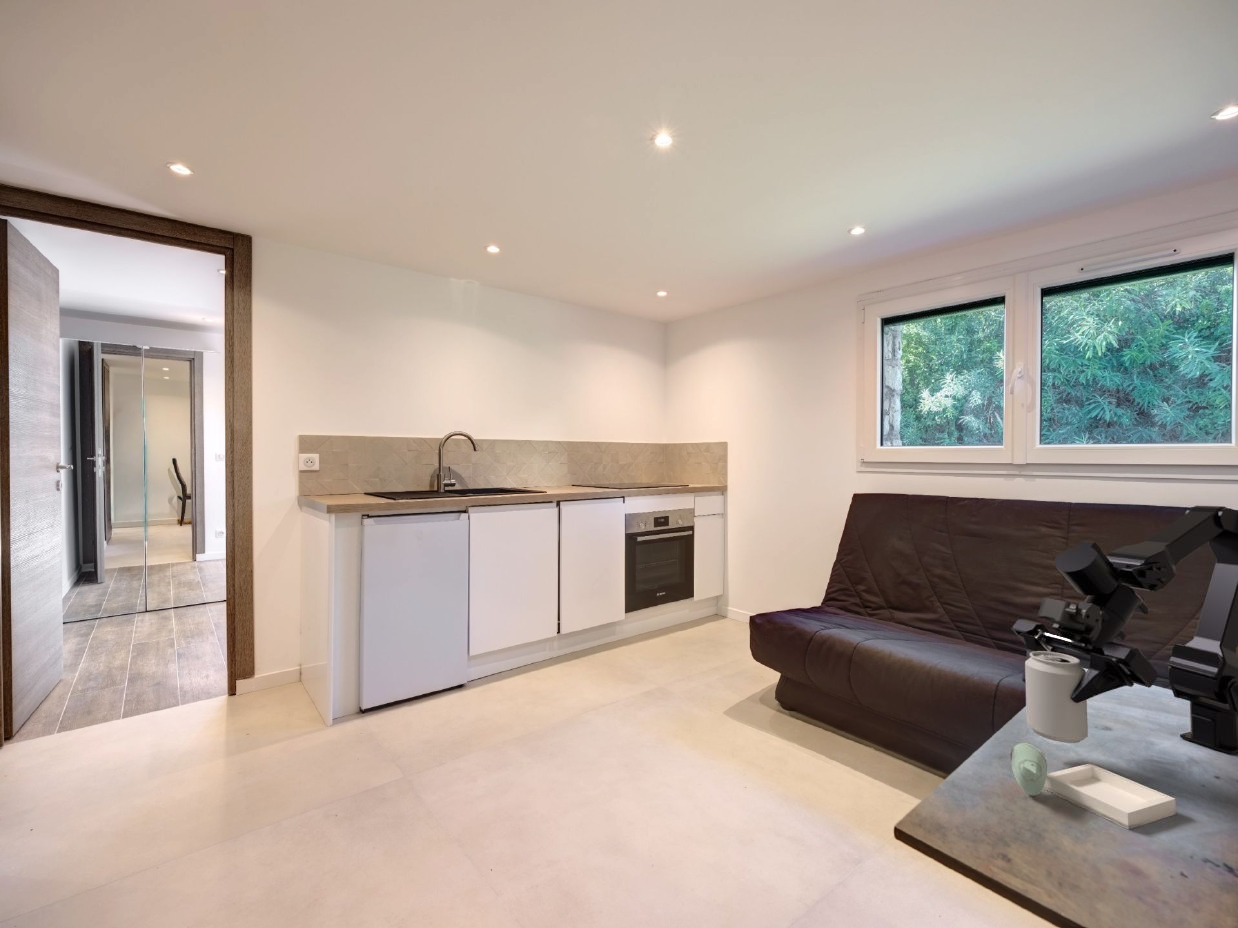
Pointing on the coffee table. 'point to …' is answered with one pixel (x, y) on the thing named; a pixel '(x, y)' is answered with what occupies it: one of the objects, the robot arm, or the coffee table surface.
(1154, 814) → the tray
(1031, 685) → the can
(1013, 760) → the green oval piece
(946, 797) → the coffee table surface
